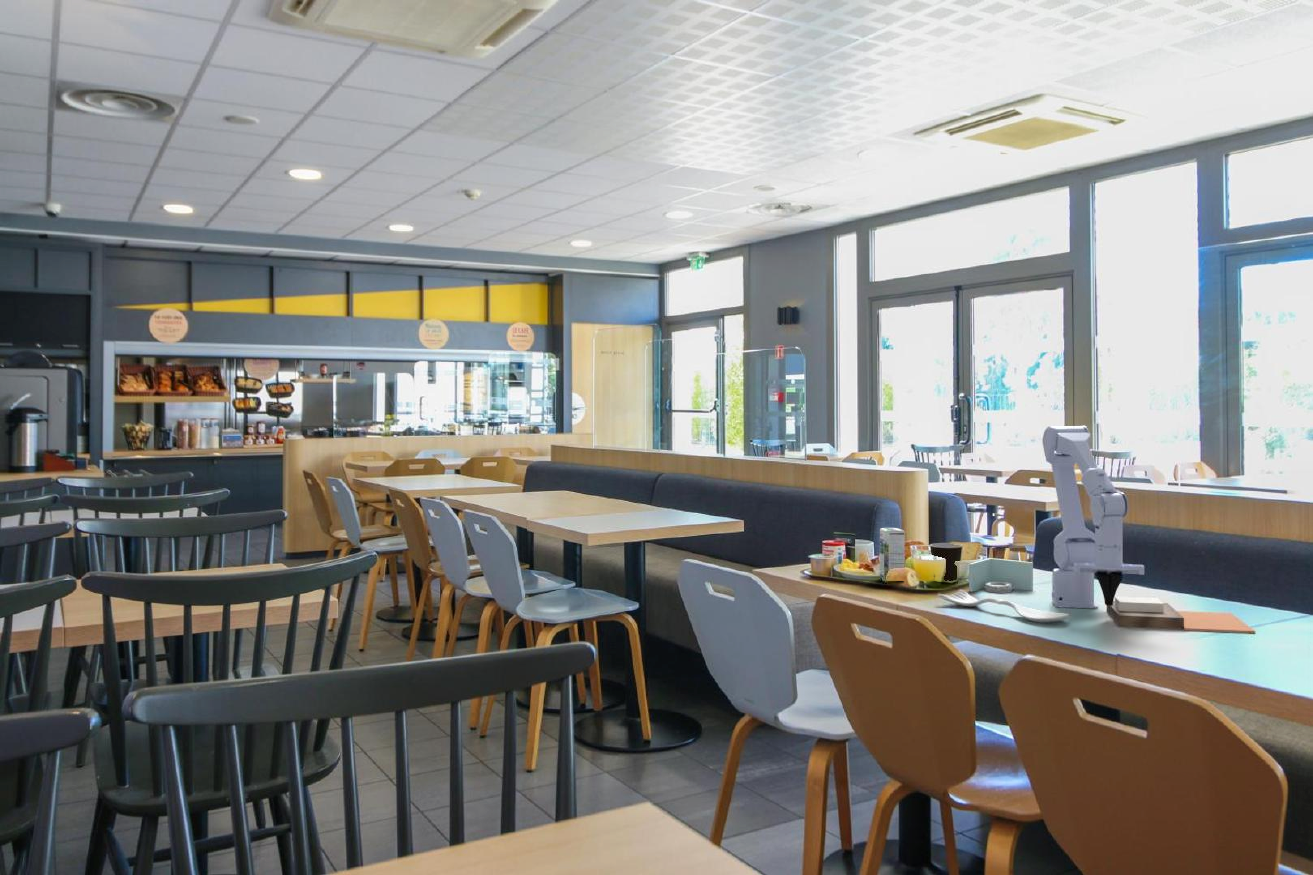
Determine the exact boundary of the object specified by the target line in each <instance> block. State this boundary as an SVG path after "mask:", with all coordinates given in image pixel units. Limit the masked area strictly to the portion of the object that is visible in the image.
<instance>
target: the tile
mask: <svg viewBox="0 0 1313 875" xmlns="http://www.w3.org/2000/svg"><path fill="white" fill-rule="evenodd" d="M1114 601H1115V606H1116V607H1117V608H1118V609H1119V611H1137V612H1163V613H1164V603H1165V602H1162V601H1161V600H1160V599H1159V598H1158V597H1136V596H1135V597H1133V596H1132V597H1131V596H1115V597H1114Z"/></svg>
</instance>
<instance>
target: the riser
mask: <svg viewBox="0 0 1313 875" xmlns="http://www.w3.org/2000/svg"><path fill="white" fill-rule="evenodd" d="M1163 603H1164V613H1163V612H1137V611H1119V609H1118V608H1117V607H1116V606H1115V600H1113V606H1110V605H1106V613H1107V614H1108V615H1109V616H1110V617H1111V619H1112V620H1113V621H1114V623H1115V624H1116V625H1117V626H1118V627H1119V626H1120V627H1119V628H1121V627H1122V628H1138V629H1139V628H1143V629H1144V628H1145V629H1161V630H1162V629H1165V630H1166V629H1167V630H1184V618H1183V617H1182V616H1181V615H1180V614H1179V613H1178V612H1177V611H1178V610H1175V608H1173V606H1171V605H1170V604H1169V603H1168V602H1163Z"/></svg>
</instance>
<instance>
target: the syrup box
mask: <svg viewBox="0 0 1313 875" xmlns="http://www.w3.org/2000/svg"><path fill="white" fill-rule="evenodd" d="M905 545H906V531H905V530H903V529H900V528H898V527H882V528H881V527H880V529H879V558H878V560H879V565H878V566H879V570H878V571H879V573H878V574H879V576H881V578H882V580H881V581H883V582H884V583H887V582H886V575H887V573H888V571H889V570H890V569H893V568H905V567H906V566H905V564H906V563H905V560H906V558H905V557H906V555H905V554H906V552H905V551H906V550H905V549H906V546H905ZM905 569H906V568H905Z"/></svg>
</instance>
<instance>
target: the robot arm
mask: <svg viewBox="0 0 1313 875" xmlns="http://www.w3.org/2000/svg"><path fill="white" fill-rule="evenodd" d="M1045 428H1046V429H1044V432H1043V436H1042V439H1041V440H1042V441H1041V442H1042V447H1043V453H1044V456H1045V461H1046V462H1047V463H1049V464H1050V465H1051V469H1052V474H1053V480H1054V481H1053V482H1054V485H1055V486H1054V487H1055V491H1056V498H1057V501H1058V508H1059V513H1060V520H1061V523H1062V531H1060V532H1059V533H1058V534H1057V535H1056V536H1055V537H1054V539H1053V558H1054V562H1055V563H1056V565H1057V566H1058V567H1059V568H1053V569H1052V574H1051V575H1052V576H1051V577H1052V578H1051V579H1052V581H1051V582H1052V583H1051V587H1052V589H1051V600H1052V602H1053V604H1054V606H1055V608H1073V609H1074V608H1077V609H1079V608H1080V609H1098V608H1099V606H1098V605H1097V604H1096V602H1095V577H1096V579H1097V581H1098V584H1099V586H1100V589H1101V592H1102V594H1103V599H1104V604H1105V606H1107V605H1110V606H1113V601H1115V597H1116V592H1117V590H1118V589H1119V587H1120V584H1121V582H1122V581H1123V578H1124V576H1123V574H1126V575H1129V574H1130V575H1131V574H1132V575H1143V576H1145V565H1143V564H1134V563H1133V564H1131V563H1124V562H1123V557H1124V556H1123V550H1124V549H1123V546H1124V544H1123V541H1124V540H1123V538H1124V537H1123V532H1124V530H1123V528H1124V527H1123V521H1124V520H1123V518H1126V516H1127V514H1128V512H1129V502H1128V499H1127V496H1126V494H1125V493H1124V492H1123V491H1120V490H1119V489H1115V487H1114V486H1115V485H1113V483H1112V481H1111V479H1110V477H1109V476H1108V474H1107V472H1106V471H1105V470H1104V469H1102V468H1100V467H1099V468H1098V465H1097V462H1096V460H1095V458H1094V455H1093V453H1092V450H1091V444H1092V435H1091V431H1090V430H1089V428H1088V427H1087V426H1086V425H1074V426H1073V425H1070V426H1069V425H1067V426H1064V425H1063V426H1052V425H1049V426H1047V427H1045ZM1075 465H1076V466H1077V467H1078V469H1079V470H1080V472H1081V473H1082V476H1081V480H1080V481H1081V484H1082V486H1083V488H1084V489H1085V492H1086V493H1087V495H1088V498H1089V499H1090V504H1089V510H1090V513H1091V516H1092V525H1093V526H1094V532H1093V531H1092V530H1090V529H1088V528H1087V527H1086V525H1085V523H1086V522H1085V519H1084V513H1083V509H1082V505H1081V504H1082V503H1081V498H1080V492H1079V488H1078V483H1077V477H1076V470H1075Z"/></svg>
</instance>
